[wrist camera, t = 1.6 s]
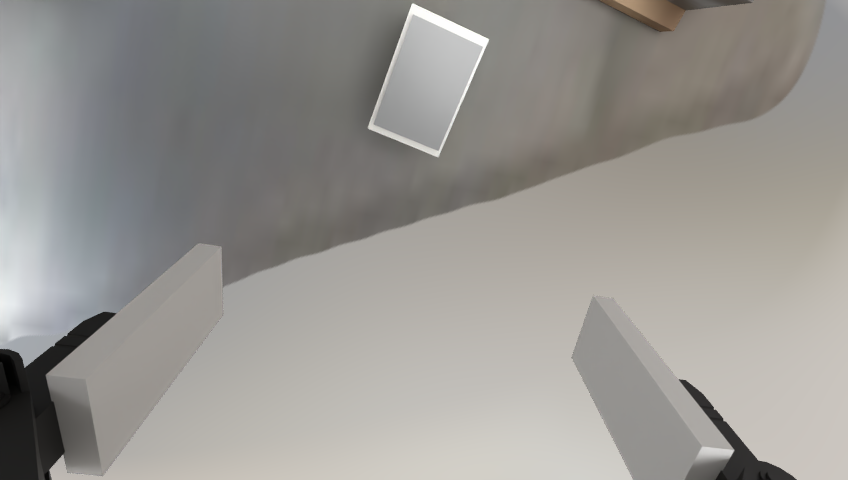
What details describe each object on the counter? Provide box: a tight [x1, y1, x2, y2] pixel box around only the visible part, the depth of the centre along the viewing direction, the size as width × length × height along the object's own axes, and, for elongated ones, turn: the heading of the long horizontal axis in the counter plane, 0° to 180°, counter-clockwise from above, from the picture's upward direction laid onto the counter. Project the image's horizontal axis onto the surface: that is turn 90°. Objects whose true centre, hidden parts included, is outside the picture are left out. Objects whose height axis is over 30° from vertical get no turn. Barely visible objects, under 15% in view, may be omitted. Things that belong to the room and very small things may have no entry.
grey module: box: [368, 3, 489, 157], centre depth 30 cm, size 4×7×13 cm, turn 157°
